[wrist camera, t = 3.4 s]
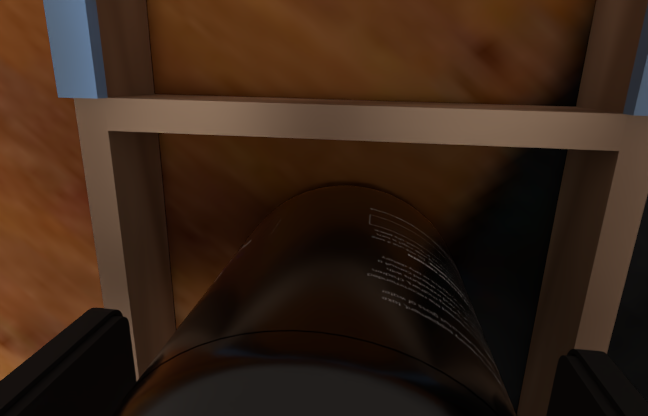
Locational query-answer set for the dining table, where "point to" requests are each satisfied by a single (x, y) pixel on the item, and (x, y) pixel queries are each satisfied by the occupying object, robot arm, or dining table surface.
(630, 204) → the caddy
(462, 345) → the supplement bottle
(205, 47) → the dining table surface
